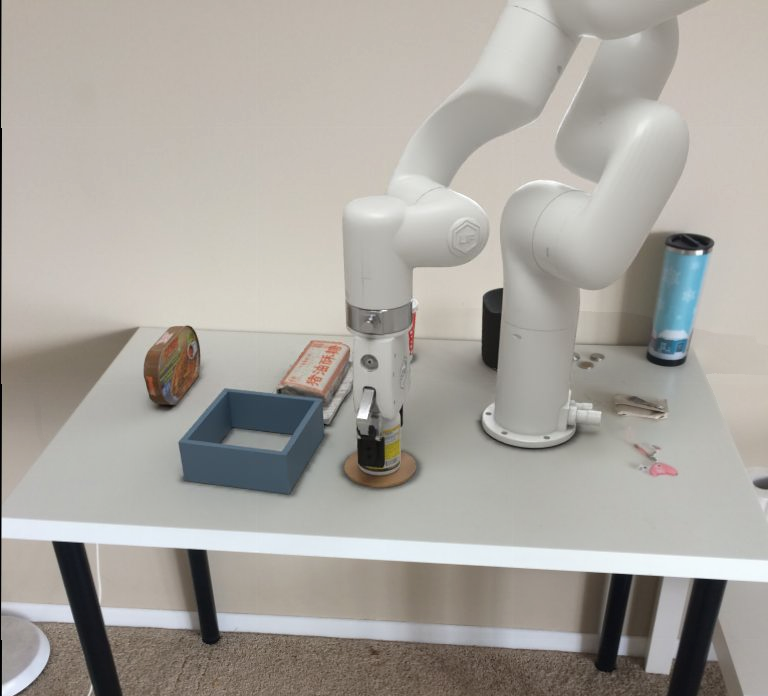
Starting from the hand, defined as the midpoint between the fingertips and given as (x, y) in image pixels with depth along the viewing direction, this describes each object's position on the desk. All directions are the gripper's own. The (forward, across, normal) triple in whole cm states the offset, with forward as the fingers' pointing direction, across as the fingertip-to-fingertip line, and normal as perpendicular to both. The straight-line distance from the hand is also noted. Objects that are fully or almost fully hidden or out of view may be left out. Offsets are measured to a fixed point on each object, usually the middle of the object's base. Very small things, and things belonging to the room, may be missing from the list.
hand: (381, 445), depth 107 cm
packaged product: (+3, +18, +14) cm, 23 cm away
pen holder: (+4, +35, -12) cm, 37 cm away
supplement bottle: (+3, 0, 0) cm, 3 cm away
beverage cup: (+4, +32, +5) cm, 33 cm away
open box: (+3, -1, +16) cm, 16 cm away
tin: (+3, +14, +34) cm, 37 cm away
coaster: (+3, 0, 0) cm, 3 cm away
